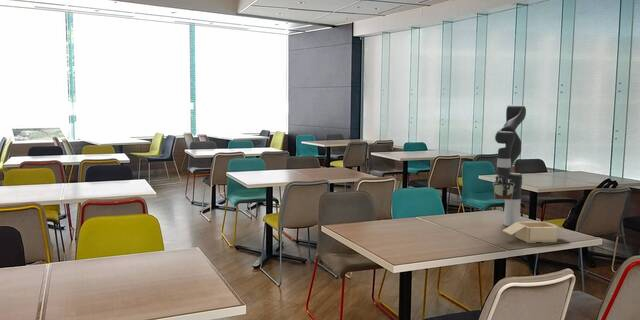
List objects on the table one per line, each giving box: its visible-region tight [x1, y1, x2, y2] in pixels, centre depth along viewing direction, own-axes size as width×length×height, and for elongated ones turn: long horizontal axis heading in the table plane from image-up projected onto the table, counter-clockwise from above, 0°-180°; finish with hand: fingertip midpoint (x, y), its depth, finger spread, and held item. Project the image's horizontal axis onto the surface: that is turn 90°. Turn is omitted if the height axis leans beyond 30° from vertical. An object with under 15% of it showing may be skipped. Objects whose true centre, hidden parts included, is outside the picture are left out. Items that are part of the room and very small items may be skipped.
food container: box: [492, 180, 515, 201], centre depth 301 cm, size 12×6×10 cm, turn 84°
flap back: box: [547, 221, 571, 235], centre depth 295 cm, size 10×1×9 cm
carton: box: [514, 221, 559, 244], centre depth 293 cm, size 15×17×8 cm
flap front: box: [502, 222, 525, 236], centre depth 291 cm, size 10×1×9 cm
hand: (502, 195), depth 301 cm, fingers closed on food container, 5 cm apart
